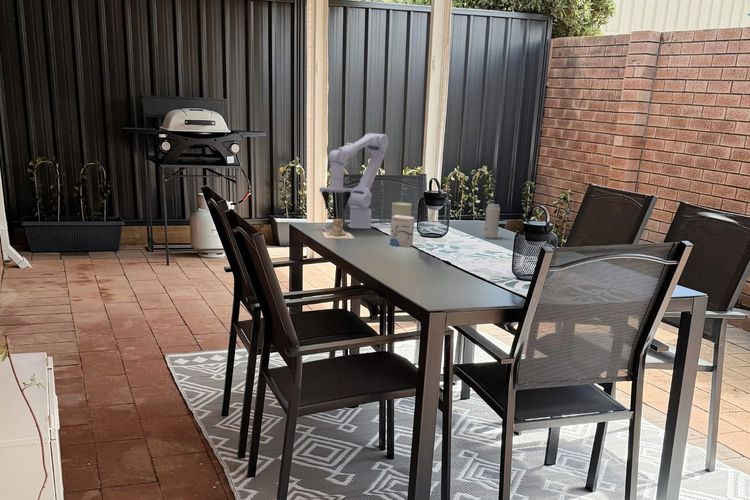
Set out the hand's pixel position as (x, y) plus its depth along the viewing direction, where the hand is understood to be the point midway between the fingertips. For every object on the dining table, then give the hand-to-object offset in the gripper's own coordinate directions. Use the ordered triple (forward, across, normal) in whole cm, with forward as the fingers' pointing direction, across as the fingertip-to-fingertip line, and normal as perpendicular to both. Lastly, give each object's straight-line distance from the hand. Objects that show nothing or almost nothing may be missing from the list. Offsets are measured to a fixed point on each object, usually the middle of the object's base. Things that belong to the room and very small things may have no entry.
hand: (335, 208), depth 296 cm
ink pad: (+9, +1, +2) cm, 10 cm away
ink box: (+10, -20, +33) cm, 40 cm away
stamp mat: (+9, +2, +14) cm, 17 cm away
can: (+10, -32, -5) cm, 34 cm away
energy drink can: (+10, -67, +19) cm, 70 cm away
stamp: (+9, +2, +14) cm, 17 cm away
